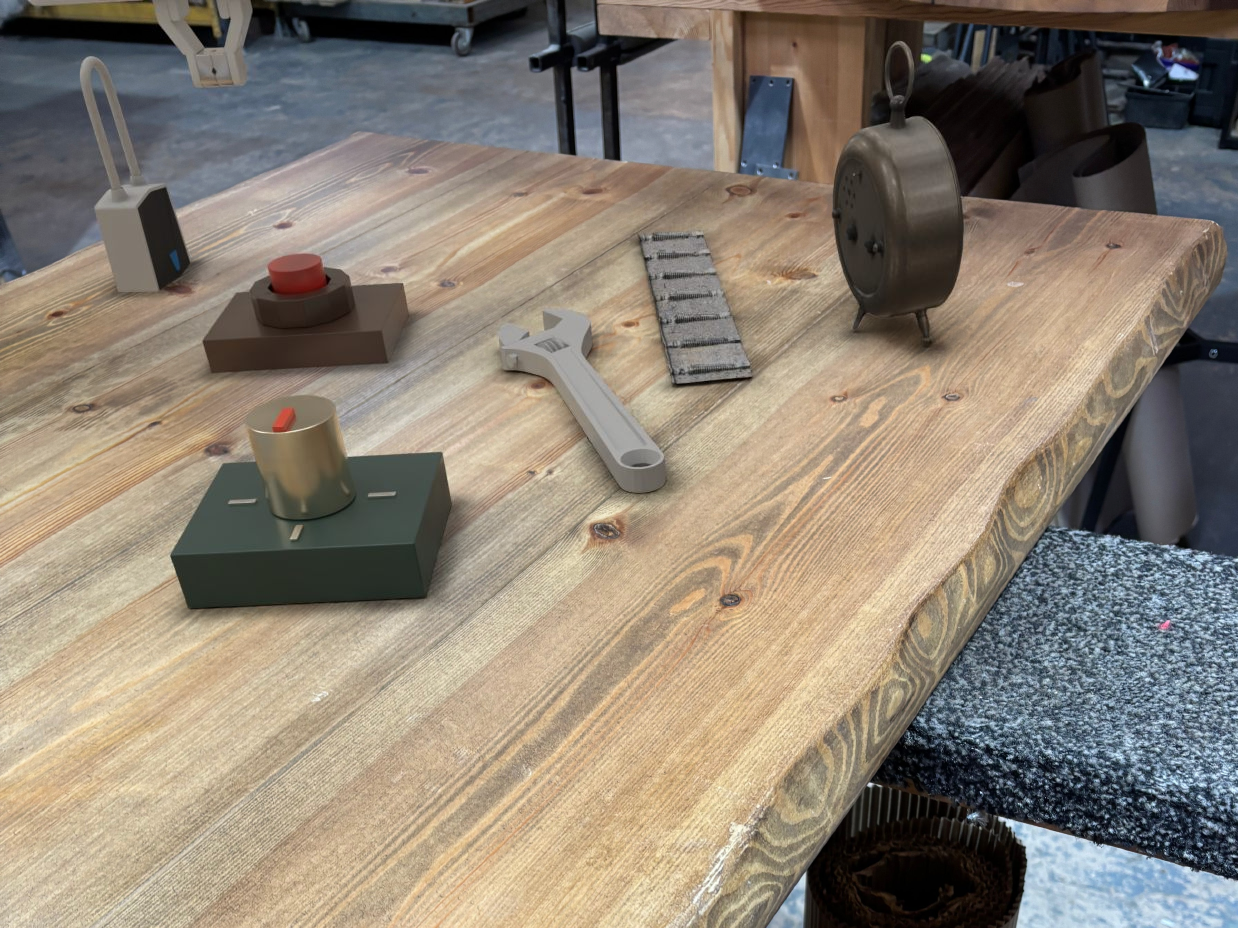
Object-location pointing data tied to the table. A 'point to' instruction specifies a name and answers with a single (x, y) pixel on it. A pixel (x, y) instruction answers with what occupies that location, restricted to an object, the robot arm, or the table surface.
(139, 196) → the padlock
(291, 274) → the button
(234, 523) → the panel
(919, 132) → the alarm clock
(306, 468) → the knob
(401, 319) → the button box
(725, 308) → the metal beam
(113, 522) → the table surface
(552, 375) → the adjustable wrench
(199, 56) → the robot arm
